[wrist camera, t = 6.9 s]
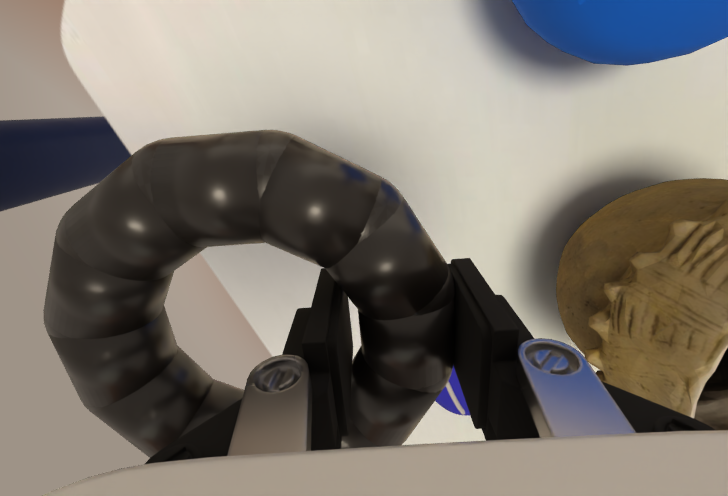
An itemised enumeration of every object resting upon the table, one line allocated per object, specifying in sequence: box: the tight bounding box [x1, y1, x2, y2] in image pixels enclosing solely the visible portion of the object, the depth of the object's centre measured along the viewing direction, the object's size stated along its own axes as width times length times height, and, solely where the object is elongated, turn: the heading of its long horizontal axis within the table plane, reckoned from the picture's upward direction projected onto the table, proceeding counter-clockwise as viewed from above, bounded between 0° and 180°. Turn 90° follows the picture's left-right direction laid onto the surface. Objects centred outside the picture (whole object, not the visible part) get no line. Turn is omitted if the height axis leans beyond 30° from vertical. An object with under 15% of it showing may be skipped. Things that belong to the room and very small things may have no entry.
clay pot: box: [556, 178, 728, 431], centre depth 28 cm, size 21×21×20 cm
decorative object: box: [435, 366, 470, 415], centre depth 40 cm, size 10×6×10 cm
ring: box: [44, 130, 455, 458], centre depth 11 cm, size 12×12×3 cm
